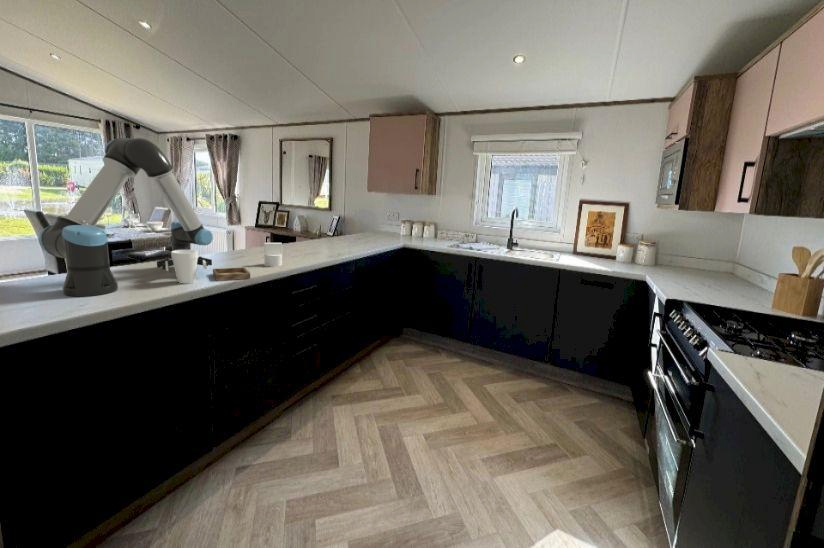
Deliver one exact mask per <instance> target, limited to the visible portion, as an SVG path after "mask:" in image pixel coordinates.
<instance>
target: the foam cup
mask: <svg viewBox="0 0 824 548" xmlns="http://www.w3.org/2000/svg"><path fill="white" fill-rule="evenodd" d="M170 254H171V256H170V257H171V259H173V264H174V265H173V267H174V268H173V269H174V272H175V277H176V281H177V283H178V282H179V283H178V284H180V283H189V284H191V283H190V282H194V283H195V282H196V280H197V269H198V268H197V267H198V266H197V259H198V257H199V251H198V250H195V249H191V250H175V251H171V252H170Z"/></svg>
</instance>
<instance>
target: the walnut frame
mask: <svg viewBox="0 0 824 548" xmlns="http://www.w3.org/2000/svg"><path fill="white" fill-rule="evenodd" d="M212 275H213V277H214V278H216V279H215V280H216V282H219V280H224V281H236V280H235V279H240V280H250V279H251V273H250V271H248V269H247V268H246V267H243V266H242V267H225V268H212Z"/></svg>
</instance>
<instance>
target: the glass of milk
mask: <svg viewBox="0 0 824 548" xmlns="http://www.w3.org/2000/svg"><path fill="white" fill-rule="evenodd" d="M263 246H264V247H263V248H264V251H263V252H264V253H263V254H264V259H263V261H264V267H269V266H270V267H274V266H277V267H281V265H282V266H283V243H282V242H263ZM274 268H275V267H274Z"/></svg>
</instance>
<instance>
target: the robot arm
mask: <svg viewBox="0 0 824 548" xmlns="http://www.w3.org/2000/svg"><path fill="white" fill-rule="evenodd" d="M104 153H105V154H104V156H103V158H102V163H103V166H102V168H101V169H100V170H99V171H98V173H97V174H96V176H95V177H94V178H93V179H92V181H91V182H90V184H89V185H88V186H87V187H86V189H85V190H84V192H83V193H82V194H81V196H80V197H79V199H78V200H77V201H76V202H75V204H74V205H73V207H72V208H71V209H70V211H69V212H68V213H67V214H65V215H60V216H59V217H58V218H57V220H55V222H54V223H53V224H52V225H49V226H47V227H45V228H44V229H42V230H41V231H40V233H39V236H38V243H39V246H40V247H41V249H42V250H43V251H44V252H46V253H47V254H49V255H51V256H54V257H56V258H61V259H65V263H66V269H67V271H66V272H67V273H66V275H65V276H66V277H65V279H64V283H63V285H62V292H63V295H65V296H69V297H90V296H91V297H92V296H99V295H106V294H110V293H114V292H116V291H118V289H119V285H118V284H119V283H118V281H117V280H116V278H115V275H114V274H113V272H112V270H111V265H110V255H109V246H108V245H109V243H108V237H107V232H106V231H105V229H104V228H102V227H99V226H96V225H97V224H98V222H99V221H100V220H101V218H102V217H103V215H104V214H105V212H106V211H107V210H108V208H109V206H111V204H112V203H113V201H114V200H115V198H116V197H117V195H118V193H120V192H121V190H122V188H123V186H125V184H126V183H127V182H128V179H130V178H135V177H136V176H137V175H138V173H139V172H140V170H142V171H144V173H145V174H146V175H147V177H148V178H150V179H152V180H153V181H154V183H155V185H156V187H157V188H158V189H159V191H160V193H161V194H162V196H163V198H164V200H165V201H166V203H167V205H168V206H169V208H170V209H171V211H172V212H173V214H174V215H175V217H176V219H177V220H178V221H177V220H176V221H175V220H174V221H172V222H171V223H170V235H171V242H172V243H171V244H172V245H171V246H172V248H171V249H172V251H175V250H192V247H191V244H192V245H193V244H194V245H198V246H208V245H210V244H211V243H212V241H213V240H214V235H213V233H212V231H210V230H208V229H207V228H204V225H203V224H202V222H201V221H200V219H199V217H198V215H197V213H196V212H195V210H194V208H193V206H192V205H191V203H190V201H189V199H188V198H187V196H186V194H185V193H184V190H183V189H182V187H181V185H180V184H179V182H178V180H177V179H176V177H175V175H174V173H173V171H174V167H173V165H172V164H171V162H170V160H169V158H167V156H166V155H165V154H164V152H163V151H162V150H161V148H160V147H158V146H157V144H155V143H153V142H152V141H151V140H148V139H145V138H142V137H135V138H134V137H131V138H128V137H118V138H114V139H112V140H109V142H107V143H106V145H105V148H104ZM172 251H171V252H172ZM197 265H198V266H202V268H203V269H204V270H207V267H209V266H212V265H213V259H210V258H206V257H203V256H198V259H197ZM172 266H173V267H174V264H173V259H172V258H170V257H165V258H162V259H159V260H157V261H156V268H157V269H160V268H161V269H162V270H165V271H166V272H169V267H172Z"/></svg>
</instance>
